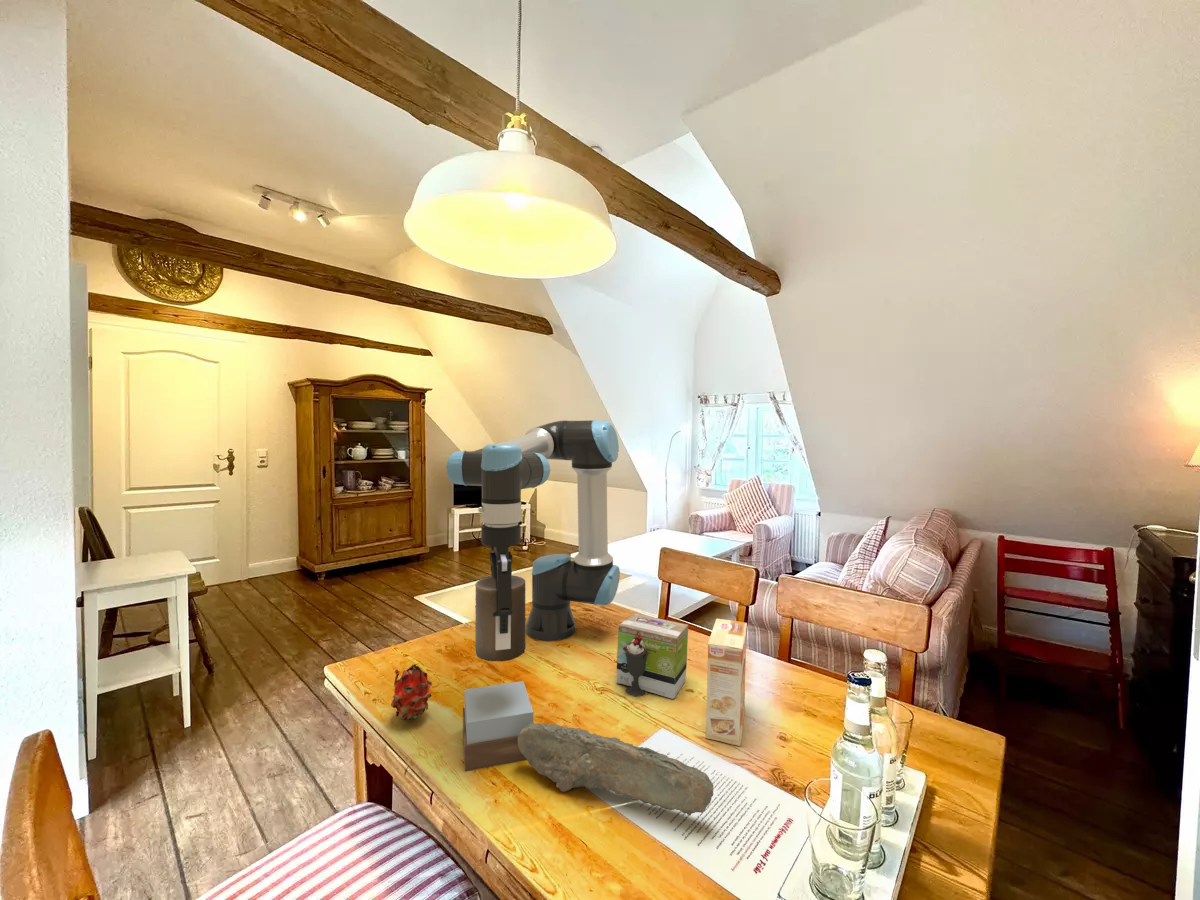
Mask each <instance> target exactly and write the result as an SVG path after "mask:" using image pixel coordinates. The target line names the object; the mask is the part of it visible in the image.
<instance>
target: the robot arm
mask: <svg viewBox="0 0 1200 900" xmlns="http://www.w3.org/2000/svg"><path fill="white" fill-rule="evenodd" d="M619 448H620V446H619V438H618V435H617V431H616V428H615V427H614V425H613V424H612V423H611V422H609V421H606V420H597V419H594V420H565V419H564V420H557V421H552V422H549V423H545V424H542V425H539V426H536V427H533V428H530V429H529V430H527V431H526V433H525V434H523V435H519V436H517V437H513V438H511V439H508V440H505V441H501V442H498V443H496V444H486V445H485V446H483V448H479V449H476V450H473V451H470V450H469V451H467V450H460V451H458V450H457V451H454V452H452V453H451V454H450V455H449V457H448V459H447V460H446V464H445V465H446V467H445V468H446V476H447V478H448V479H449V481H450V482H451V483H452V484H454V485H463V486H465V487H467V486H472V487H473V486H474V487H475V486H477V487H481V506H479V507H478V510H477V511H478V513H481V522H482V523H483V524H482V526H481V527H480V528H481V529H480V532H481V533H480V534H481V535H480V536H481V539H480V543H481V544H482V545H483V546H485V547H488V548H490V549H491V551H490V552H489V561H490V571H491V572H490V574H491V575H490V576H493V578H494V579H495V580H496V590H497V598H496V603H497V611H496V612H494V613H493V617H494V616H496V630H495V649H496V650H503V649H511V615H512V613H513V610H512V588H511V575H513V574H512V564H513V554H511V551H510V550H509V548H510V547H514V546H515V547H516V546H517V545H519V544H520V543H521V541H522V539H521V535H522V534H521V533H522V532H521V531H522V528H521V527H522V526H521V524H519V523H521V522H522V490H525V489H534V488H536V487H539V486H541V485H543V484H545V482H547V480H549V477H550V476H551V475H550V474H551V466H550V465H551V464H550V463H549V462H550V461H549V460H558V461H560V460H561V461H570V462H571V469H573V471H574V472H576V474H577V475H576V476H577V477H576V480H577V529H578V530H577V531H578V532H577V535H578V539H577V540H578V541H577V542H578V553H577V554H576V555H575V556H574V557H573V560H572V556H571V555H570V554H567V553H554V554H547V555H543V556H540V557H538V558H535V560H534V561H533V562H532V570H531V571H532V572H531V582H532V583H531V590H532V591H531V599H532V600H531V610H530V613H529V614H528V619H527V620H526V621H527V622H526V623H525V630H526V633H525V635H527V636H528V637H529V638H531V639H533V640H537V641H541V642H556V641H563V640H565V639H569V638H570V637H572V636H574V635H575V633H576V620H575V617H574V615H573V611H572V608H571V602H575V603H582V604H588V605H594V606H598V605H599V606H608V605H610V604H611V603H613V601H614V599H615V597H616V594H617V592H618V588H619V583H620V577H621V571H620V567H619V566H618V565H617V564H614V557H613V556H612V555H611V554H610V553H609V552H608V551H609V550H608V543H609V542H608V475H607V474H608V472H609V471H610V470H611V469H612V468H613V463H614V462H616V461H617V460H618V457H619V452H620V451H619V450H620V449H619ZM502 608H505V609H502Z"/></svg>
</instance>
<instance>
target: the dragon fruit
mask: <svg viewBox="0 0 1200 900" xmlns="http://www.w3.org/2000/svg"><path fill="white" fill-rule="evenodd" d="M399 676H400V673H399V672H398V673H396V675H395V677H394V695H392V698H393V699H392V700H391V703H390V706H391V707H392V709H396V712H395V716H396V717H398V718H399V721H400V720H401V721H402V720H403V721H407V720H409V721H411V719H412V720H418V718H419V716H420V715H423V713H425V711H427V710H428V709H429V703H428V701H429V699H431V697H432V693H430V692H429V691H430V688H431V687H432V685H433V683H432V682H431V680H428V673H427V672H425V671H424V670H422V668H421V667H419V666H418V665H417V664H415V663H414V664H413V665H411V666H410V667H408V668H407V669H406V670H405V669H404V670H402V674H401V676H400V678H399Z"/></svg>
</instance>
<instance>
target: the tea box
mask: <svg viewBox="0 0 1200 900" xmlns="http://www.w3.org/2000/svg"><path fill="white" fill-rule="evenodd" d="M617 630H618V631H617V648H616V649H617V651H616V675H615V676H616V677H615V678H616V684H620V685H625V686H627V687H628V686H632V685H633V676H632V675H631V674H630V673H629V672H628V668H627V658H626V652H625V651H624V650H623V647H627V646H628V644H630V643H631V641H632V639H633V638H635V637H637V636H638V635H639V636H641V637H642V641H643V642H644V645H645V649H646V651H648V652H649V653H650V654H648V655H647V659H646V665H645V671H644V673H643V675H642V676H640V677H639V678H638V684H639V687H640V689H642V690H645V691H646V692H649V693H652V694H655V695H658V696H662V697H665V698H667V699H671V700H674V699H675V698H676V697H677V695H678V693H679V692H680V690H681V689H682V687H683V685H684V684H685V682H686V680H687V679H686V678H687V667H688V666H687V661H688V639H689V624H686V623H681V622H677V621H673V620H668V619H662V618H658V617H655V616H649V615H645V614H640V613H635V612H633V613H632V614H630V616H628V617H627V618H626V619H625V620H623V622H621V623H620V624H618V629H617ZM637 632H639V633H638V635H636V634H637Z"/></svg>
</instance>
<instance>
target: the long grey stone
mask: <svg viewBox="0 0 1200 900" xmlns="http://www.w3.org/2000/svg"><path fill="white" fill-rule="evenodd" d="M518 747H519V750H520V752H521V753H522V754H523V755H524V757H526V759H527V760H526V761H527V763H528V766H531V767H532V768H533V769H534V770H535V771H536V772H537V774H539V775H542V776H545V777H546V778H548V779H549V780H551V781H552V782H553V783H555V786H556V788H558V790H559V791H561V792H562V793H565V792H568V791H570V790H571V789H572V788H575V789H576V788H581V787H585V788H588V789H589V790H595V789H599V788H601V789H603V790H607V791H612V792H613V793H615V794H616V795H621V796H623V797H626V798H627V799H630V800H637V801H639V802H642V803H644V804H649V805H651V806H654V807H655V806H656V807H657V806H658V807H659V808H662V809H664V810H668V811H673V810H676V811H680V813H682V814H687V815H688V816H691V815H692V814H695V813H701V814H704V812H705V811H706V809H707V807H708V806H709V805H710V804H711V802H712V798H713V796H714V783H713V782H712V780H710V777H709V775H708V774H707V773H706V772H704V771H702V770H701V769H698V768H697V767H693V766H690V765H687V764H685V763H684V762H682V761H681V760H679V759H676V758H674V757H668V756H667V755H666V754H664V753H660V752H658V751H655V750H654V749H652V748H650V747H643V746H640V747H639V746H636V745H633V743H629V742H625V741H623V740H620V738H618V737H615V736H613V737H610V736H604V735H600V734H596V733H591V732H590V731H588V730H587V729H581V728H579V727H578V728H576V727H568V726H563V725H559V724H556V723H550V724H548V723H547V724H546V723H545V722H536V723H535V722H534V724H533V723H531V724H528V725H527V726H525V727H523V729H522V730H521V732H520V733H519V736H518Z"/></svg>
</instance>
